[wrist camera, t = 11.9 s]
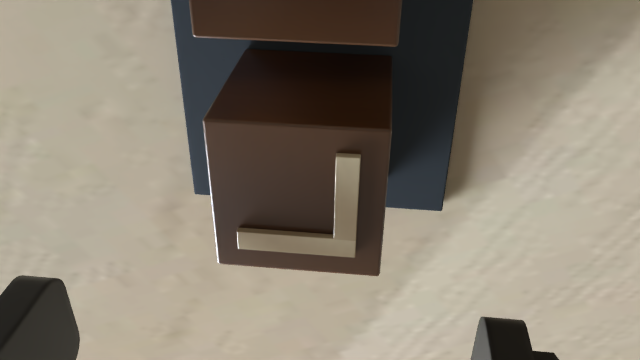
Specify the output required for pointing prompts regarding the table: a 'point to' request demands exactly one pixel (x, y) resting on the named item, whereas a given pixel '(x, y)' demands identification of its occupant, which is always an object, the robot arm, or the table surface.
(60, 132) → the table surface
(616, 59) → the table surface
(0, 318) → the robot arm
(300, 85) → the tile
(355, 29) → the tile
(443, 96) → the mat
